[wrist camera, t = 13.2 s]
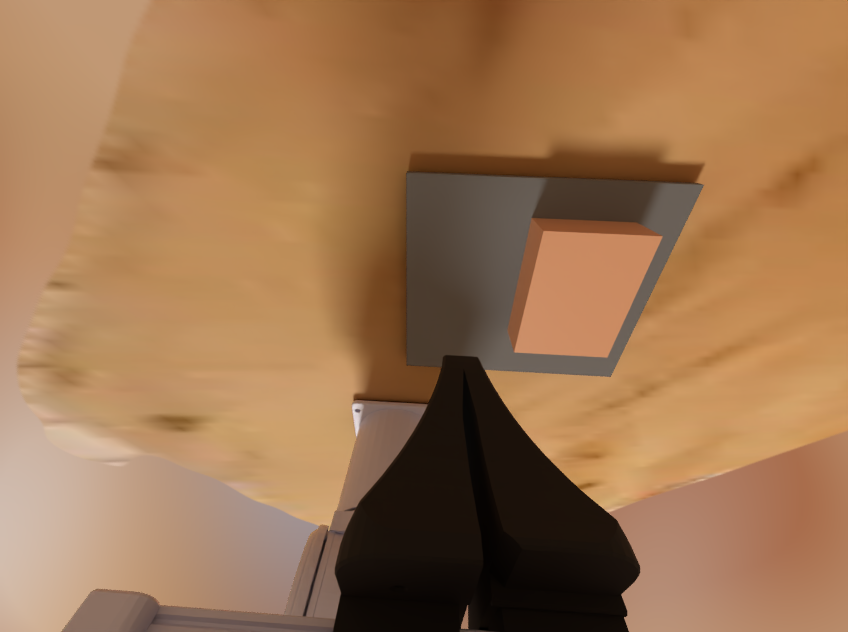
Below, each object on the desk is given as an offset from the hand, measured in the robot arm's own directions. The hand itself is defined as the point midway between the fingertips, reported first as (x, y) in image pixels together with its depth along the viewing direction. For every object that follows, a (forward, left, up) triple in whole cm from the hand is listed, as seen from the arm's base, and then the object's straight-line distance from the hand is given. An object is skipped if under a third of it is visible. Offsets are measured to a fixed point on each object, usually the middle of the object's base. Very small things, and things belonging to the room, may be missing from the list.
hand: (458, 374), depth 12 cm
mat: (-1, -5, -10) cm, 11 cm away
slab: (0, -4, -8) cm, 9 cm away
